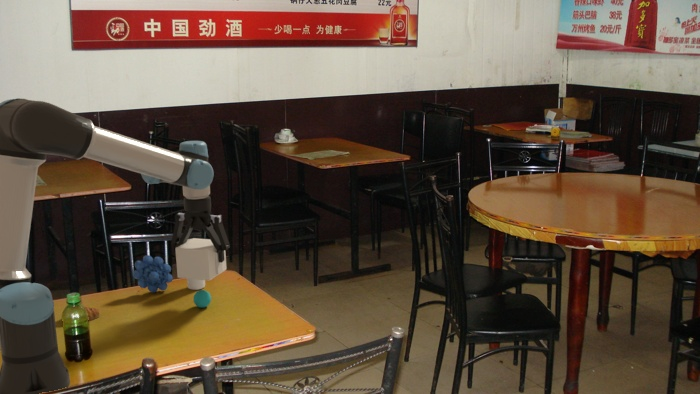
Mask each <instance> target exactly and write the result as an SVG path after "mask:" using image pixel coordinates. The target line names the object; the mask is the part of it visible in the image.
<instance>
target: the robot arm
mask: <svg viewBox="0 0 700 394" xmlns="http://www.w3.org/2000/svg"><path fill="white" fill-rule="evenodd" d="M208 151H209V150H208V145H207V143H206V142H205V141H203V140H186V141H183V142H180V144H179V150H177V151H172V150H169V149H166V148H163V147H160V146H157V145H154V144H151V143H148V142H145V141H141V140H139V139H136V138H134V137H130V136H126V135H123V134H121V133H118V132H114V131H112V130H109V129H105V128H102V127H99V126H96V125H94V123H93V121H92V120H91V119H89V118H86V117H83V116H80V115H78V114H76V113H74V112H71V111H68V110H67V109H65V108H61V107H60V106H58V105H55V104H53V103H50V102H47V101H43V100H42V101H41V100H31V99H27V98H12V99H7V100H4V101H1V102H0V354H1V365H0V394H39V393H42V392H49V391H54V390H58V389H62V388H65V387H67V388H68V387H69V386H70V385H71V377H70V372H69V370H68V368H67V367H66V366H65V365H66V364H65V362H64V360H63V358H62V356H61V354H60V352H59V346H58V345H59V344H58V336H57V326H56V317H55V302H54V299H53V295H52V292H51V290H50V289H49V288H48V287H47V286H45V285H43V284H42V283H36V282H33V283H32V282H31V281H32V274H31V272H29V270H28V268H26V265H27V258H28V257H27V255H28V250H29V249H28V248H29V240H30V232H31V227H32V225H31V224H32V218H33V210H34V209H33V208H34V203H35V193H36V186H37V178H38V170H39V167H40V166H41V165H42V164H44V163H45V162H46V161H47V155H51V156H52V155H53V156H59V157H60V156H61V157H65V158H69V159H74V160H80V159H82V158H85V159H89V160H93V161H97V162H100V163H104V164H107V165H110V166H114V167H117V168H120V169H124V170H127V171H130V172H135V173H137V174H140V175H141V178H142V180H143V181H144V182H145V183H147V184H148V185H152V184H153V185H154V184H157V185H158V184H160V183H168V184H170V185H175V186H179V187H180V186H182V194H183V209H184V213H183V212H182V211H181V212H178V213H176V214H175V215H174V218H175V219H174V220H175V224H174V228H173V234H172V238H171V242H170V243H171V244H170V245H171V246H172V247H175V248H176V247H178V246H180V245H182V244H184V243H185V242H187V240H188V239H190V236H191V233H192V231H193V230H194V229H199V230H203V231H204V233H206V234H207V237H208V239H210V240H211V242H212V243H213V245H214V247H215V248H216V250H217V251H216V252H215V268H216V274H219V273H220V274H222V273H223V272H224V271H223V268H222V262H223V261H224V250H225V251H227V250H228V249H230V247H231V244H230V242H229V237H228V236H227V233H226V229H225V227H224V224H223V215H222V214H218V215H214V214H213V213H212V198H211V196H210V195H211V184H212V182H213V179H214V175H215V174H214V173H215V171H214V169H213V167H212V165H211V164H210V162H209V156H210V155H209V153H208ZM185 220H186V222H187V223H186V226H185V228H184V231H183V233H182V230H183V226H184V221H185ZM211 221H212V222H211ZM214 228H215V229H214ZM222 271H223V272H222ZM221 272H222V273H221ZM220 274H219V275H220Z"/></svg>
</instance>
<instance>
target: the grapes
mask: <svg viewBox="0 0 700 394" xmlns="http://www.w3.org/2000/svg"><path fill="white" fill-rule="evenodd" d="M134 267H135V270H133V272H132V276H133V278H134V279H135V280H138V281H137V285H138V287H140V288H141V289H146V288H147V290H148V291H149V292H150V293H157V292H158V290H160V291H165V290H167V289H168V284H169V283H171V282H172V281H173V279H174V278H173V275H172V274H171V270H172V267H171V265H169V264H168V263H164V260H163V258H162V257H161V256H155V257H152V256H151V255H147V254H145V255H144V256H143V257H142V260H140V259H139V260H136V261H135V262H134Z"/></svg>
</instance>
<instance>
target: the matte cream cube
mask: <svg viewBox="0 0 700 394" xmlns="http://www.w3.org/2000/svg"><path fill="white" fill-rule="evenodd" d="M190 239H191V240H189V241H187V242H185V243H184V244H182V245H180V246H178V247H175V250H174V251H175V259H176V262H175V263H176V272H177V274H176V275H177V279H186V280H187V279H197V280H205V281H209V282H210V281H211V280H213V279H214V278H216V277H217V276H219V275H220V274H222V273H224V272H225V271H226V270H227V256H226V250H224V261H223V262H222V268H223V271H222V272H221V273H219V274H216V268H215V252H216V251H217V250H216V248H215V247H214V245H213V243H212V242H211V240H210V238H198V237H197V238H196V237H193V238H190Z"/></svg>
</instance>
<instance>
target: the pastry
mask: <svg viewBox="0 0 700 394" xmlns="http://www.w3.org/2000/svg"><path fill="white" fill-rule="evenodd" d="M83 307H84V308H85V309H86V311H87V313H88V317H89V321H88V322H90V321H94V320H96V319H98V318H99V317H100V310H99V309H98V308H95V307H86V306H83Z"/></svg>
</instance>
